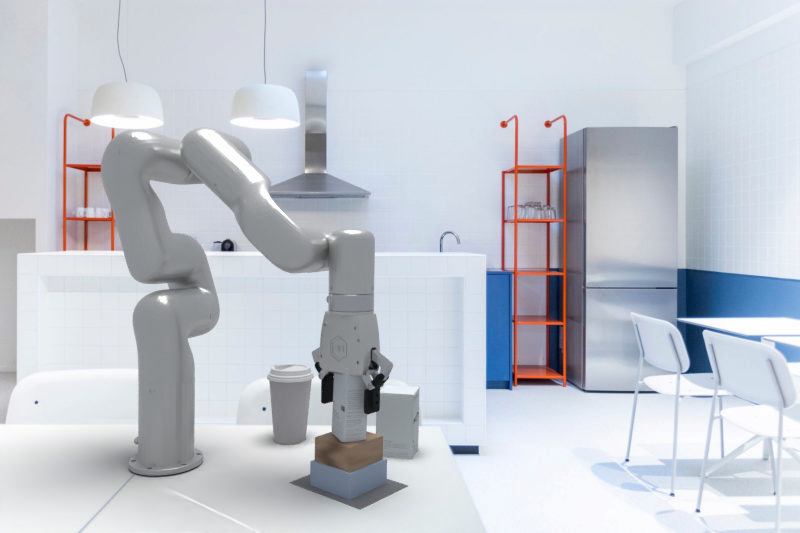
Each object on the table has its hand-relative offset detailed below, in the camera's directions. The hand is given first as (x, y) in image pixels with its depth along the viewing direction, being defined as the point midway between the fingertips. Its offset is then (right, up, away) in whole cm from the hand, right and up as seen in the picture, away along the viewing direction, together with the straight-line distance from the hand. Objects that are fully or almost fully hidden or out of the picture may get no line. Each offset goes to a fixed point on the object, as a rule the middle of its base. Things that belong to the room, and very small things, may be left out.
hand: (349, 407), depth 100 cm
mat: (0, -13, 0) cm, 13 cm away
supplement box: (+8, -13, +17) cm, 23 cm away
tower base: (0, -13, 0) cm, 13 cm away
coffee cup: (-14, -13, +24) cm, 31 cm away
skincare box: (0, -5, 0) cm, 5 cm away
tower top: (0, -9, 0) cm, 9 cm away
